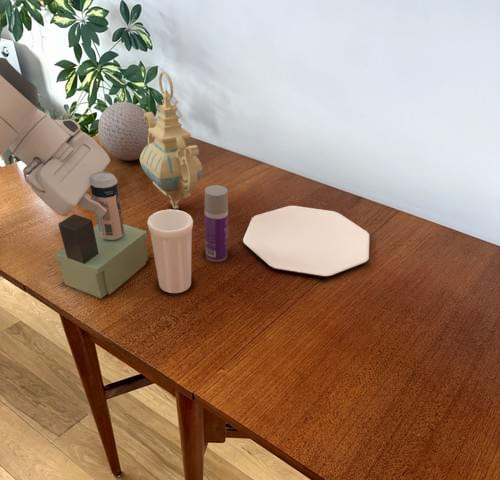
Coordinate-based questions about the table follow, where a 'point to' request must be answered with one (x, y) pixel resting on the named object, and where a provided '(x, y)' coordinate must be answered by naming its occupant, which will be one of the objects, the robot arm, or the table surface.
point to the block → (78, 238)
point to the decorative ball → (124, 130)
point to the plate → (307, 241)
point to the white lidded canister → (108, 205)
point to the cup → (172, 248)
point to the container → (216, 222)
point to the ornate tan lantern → (170, 152)
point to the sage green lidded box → (106, 263)
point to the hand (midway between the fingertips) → (110, 205)
